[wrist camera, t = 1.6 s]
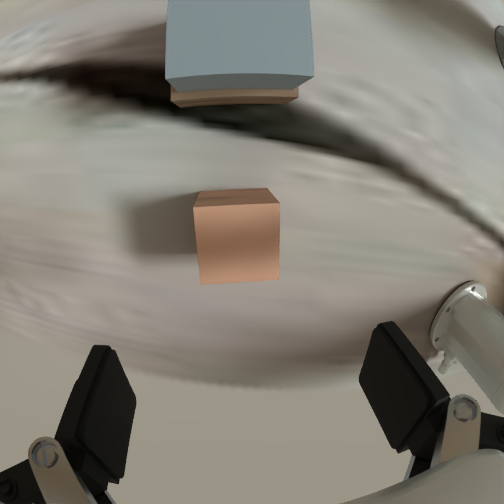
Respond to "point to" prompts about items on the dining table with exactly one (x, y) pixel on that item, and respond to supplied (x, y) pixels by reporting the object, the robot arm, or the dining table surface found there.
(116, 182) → the dining table surface
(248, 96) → the tower base
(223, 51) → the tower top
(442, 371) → the robot arm
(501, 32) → the cup
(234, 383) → the dining table surface
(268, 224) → the terracotta cube
